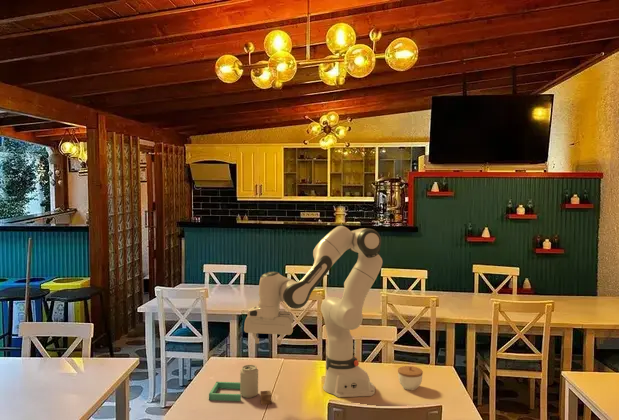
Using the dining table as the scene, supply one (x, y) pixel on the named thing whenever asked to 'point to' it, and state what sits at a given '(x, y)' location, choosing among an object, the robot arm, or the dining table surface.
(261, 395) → the walnut block
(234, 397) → the corral
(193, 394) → the dining table surface
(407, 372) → the lidded jar
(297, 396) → the dining table surface
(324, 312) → the robot arm
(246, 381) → the can
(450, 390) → the dining table surface
